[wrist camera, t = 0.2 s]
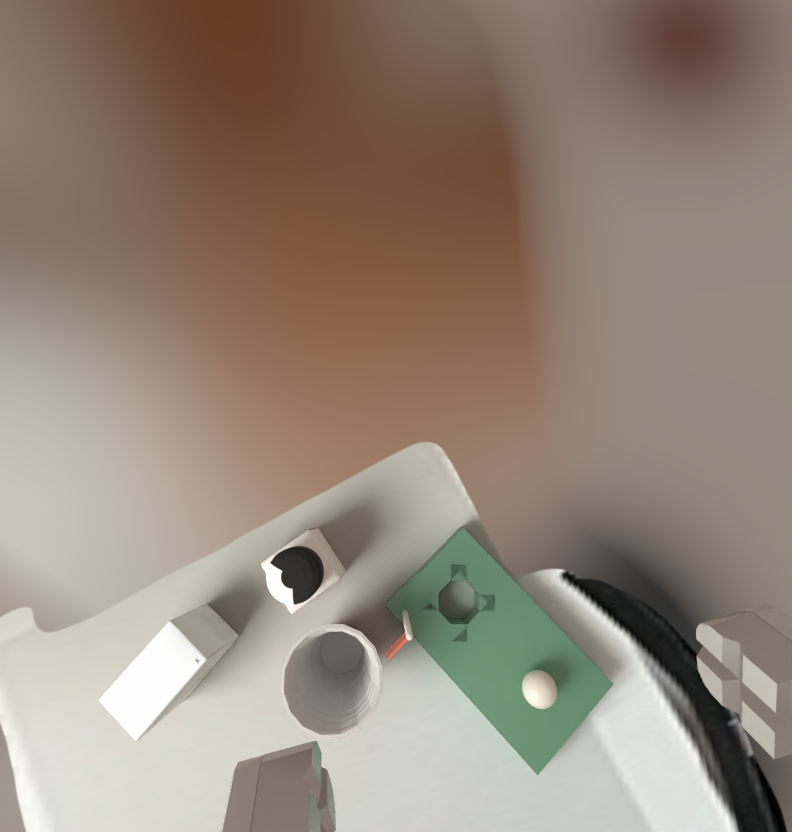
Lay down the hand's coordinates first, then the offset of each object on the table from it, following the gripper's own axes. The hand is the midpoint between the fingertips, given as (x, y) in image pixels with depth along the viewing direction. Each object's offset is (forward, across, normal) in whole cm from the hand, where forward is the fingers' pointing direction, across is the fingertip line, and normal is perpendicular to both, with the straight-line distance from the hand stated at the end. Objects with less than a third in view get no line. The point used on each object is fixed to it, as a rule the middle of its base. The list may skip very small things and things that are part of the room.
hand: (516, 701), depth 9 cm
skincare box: (+45, -30, -31) cm, 62 cm away
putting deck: (+40, +8, -38) cm, 56 cm away
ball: (+34, +11, -41) cm, 54 cm away
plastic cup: (+43, -11, -35) cm, 56 cm away
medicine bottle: (+48, -13, -25) cm, 56 cm away
